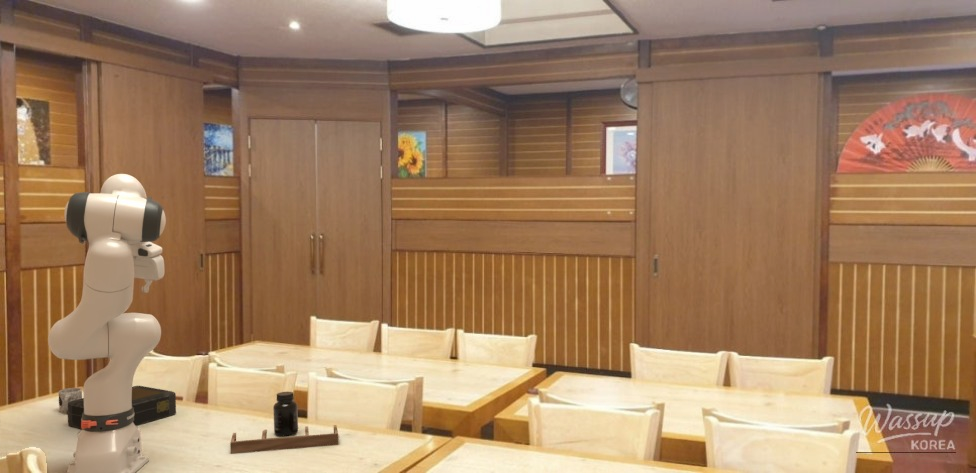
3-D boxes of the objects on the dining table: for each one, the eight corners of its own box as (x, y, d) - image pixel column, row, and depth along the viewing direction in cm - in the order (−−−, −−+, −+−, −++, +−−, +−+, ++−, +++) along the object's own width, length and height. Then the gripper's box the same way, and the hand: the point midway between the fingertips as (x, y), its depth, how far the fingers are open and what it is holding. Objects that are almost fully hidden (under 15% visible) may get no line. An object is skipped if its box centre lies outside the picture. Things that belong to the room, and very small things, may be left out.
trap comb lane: (338, 444, 206) (338, 434, 206) (230, 453, 199) (230, 442, 199) (334, 425, 224) (334, 416, 224) (235, 433, 217) (235, 423, 216)
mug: (62, 408, 245) (61, 388, 245) (84, 406, 247) (83, 387, 247) (54, 416, 235) (53, 396, 235) (77, 414, 237) (76, 394, 237)
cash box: (137, 407, 247) (137, 384, 247) (178, 415, 237) (177, 391, 237) (64, 426, 226) (63, 401, 225) (105, 436, 216) (105, 409, 215)
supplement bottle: (288, 428, 221) (288, 389, 221) (302, 433, 217) (302, 392, 216) (269, 434, 216) (268, 393, 215) (283, 438, 211) (282, 397, 211)
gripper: (92, 244, 223) (92, 288, 226) (156, 252, 221) (155, 296, 224) (105, 240, 229) (105, 283, 232) (167, 248, 228) (167, 291, 230)
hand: (130, 290), depth 228 cm, fingers open, 8 cm apart
